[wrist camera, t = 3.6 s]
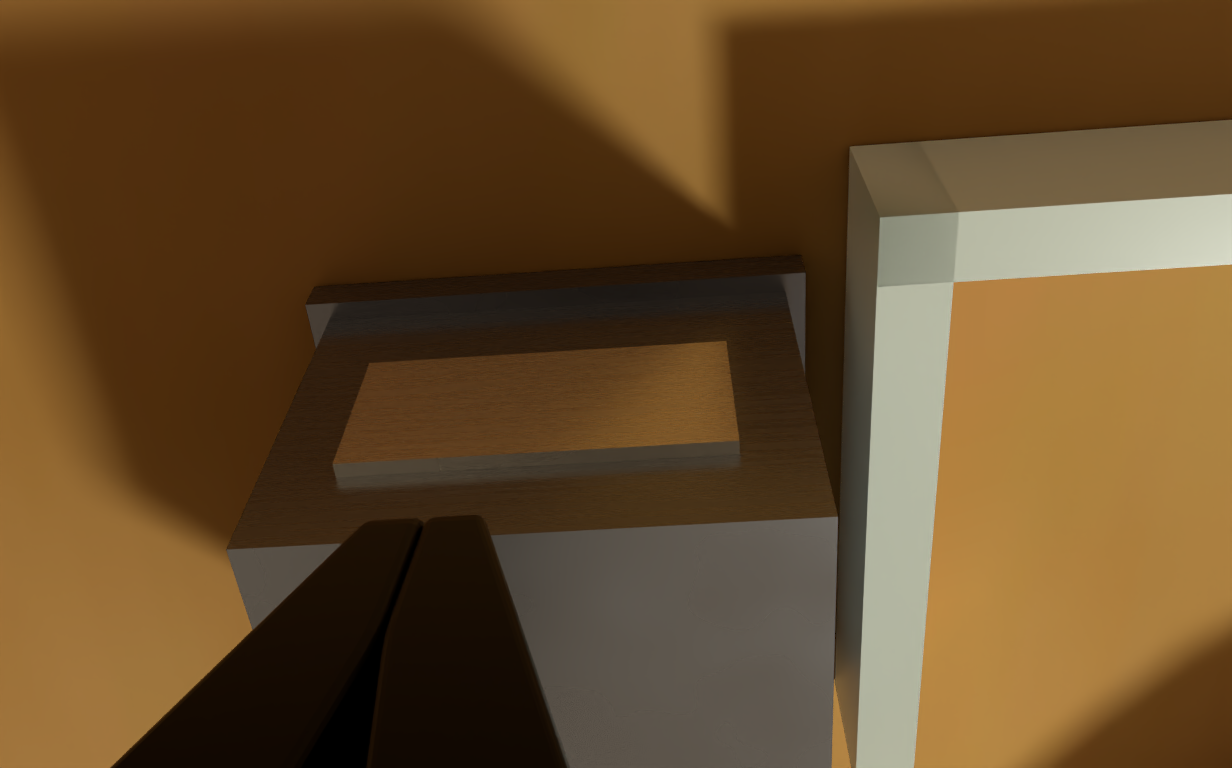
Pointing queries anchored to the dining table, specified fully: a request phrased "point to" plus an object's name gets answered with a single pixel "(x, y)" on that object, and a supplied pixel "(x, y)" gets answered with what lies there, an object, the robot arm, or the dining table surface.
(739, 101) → the dining table surface
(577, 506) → the box
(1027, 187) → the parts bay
